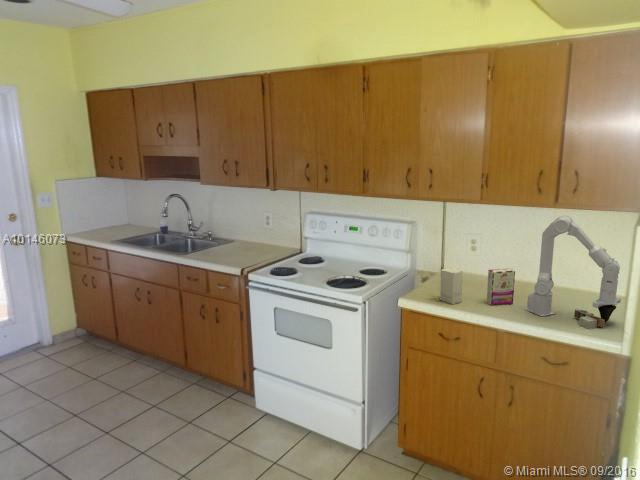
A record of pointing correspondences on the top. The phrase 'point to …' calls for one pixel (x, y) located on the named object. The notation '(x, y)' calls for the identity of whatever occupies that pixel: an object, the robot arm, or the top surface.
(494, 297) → the candy bar box
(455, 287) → the skincare box
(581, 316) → the gate posts
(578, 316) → the gate
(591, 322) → the doorstop block
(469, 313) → the top surface
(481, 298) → the top surface
